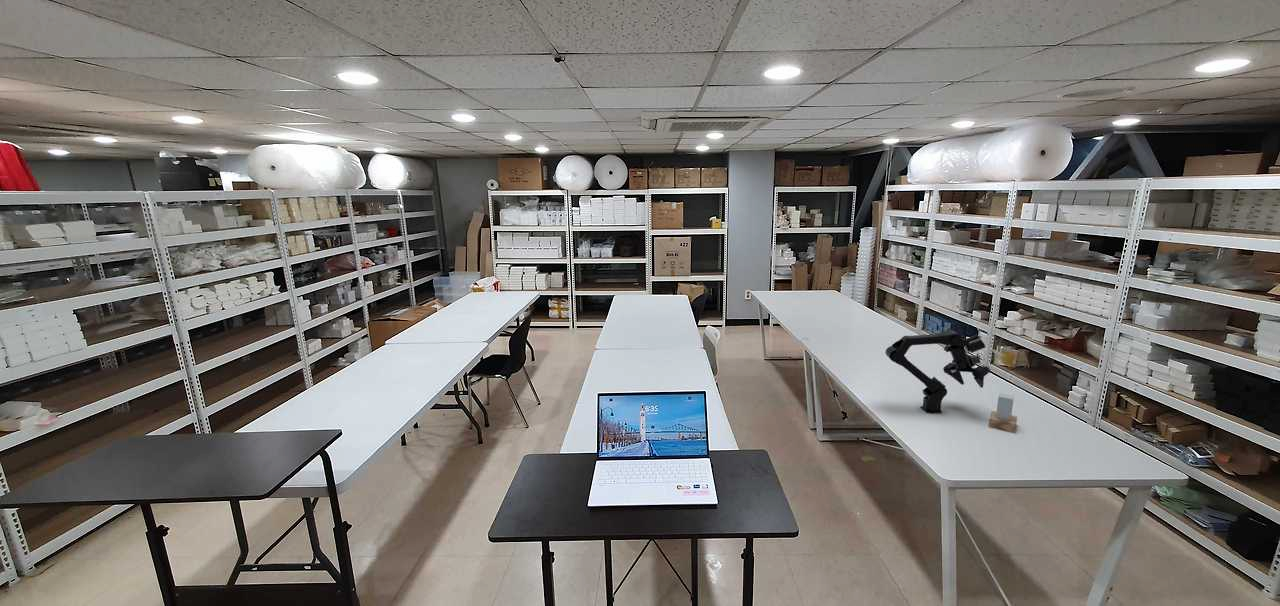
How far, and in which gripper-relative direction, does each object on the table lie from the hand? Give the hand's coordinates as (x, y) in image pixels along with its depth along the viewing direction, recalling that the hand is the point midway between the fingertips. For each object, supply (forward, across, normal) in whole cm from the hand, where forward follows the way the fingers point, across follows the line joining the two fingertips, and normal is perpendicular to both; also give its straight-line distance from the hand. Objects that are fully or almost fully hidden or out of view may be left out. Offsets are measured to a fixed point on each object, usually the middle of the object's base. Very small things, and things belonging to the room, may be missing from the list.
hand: (972, 385), depth 216 cm
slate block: (+11, -13, +4) cm, 18 cm away
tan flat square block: (+15, -12, +6) cm, 20 cm away
